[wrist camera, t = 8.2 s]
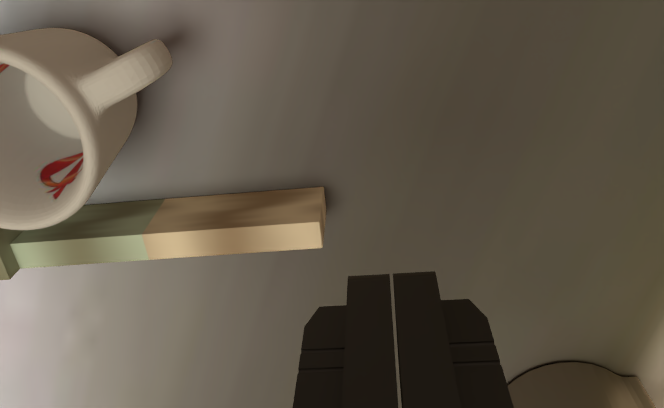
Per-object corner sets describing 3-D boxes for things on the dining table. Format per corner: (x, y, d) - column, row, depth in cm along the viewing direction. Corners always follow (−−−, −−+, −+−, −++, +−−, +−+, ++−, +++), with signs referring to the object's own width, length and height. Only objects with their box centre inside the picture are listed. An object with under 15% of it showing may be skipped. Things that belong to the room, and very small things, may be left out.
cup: (147, -47, 27) (71, -31, 20) (232, 104, 30) (193, 165, 23) (-30, 51, 29) (-154, 97, 22) (66, 181, 33) (-16, 258, 25)
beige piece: (284, -137, 25) (267, -147, 21) (326, 210, 33) (321, 258, 28) (-95, -90, 27) (-186, -89, 22) (31, 232, 34) (-18, 281, 30)
